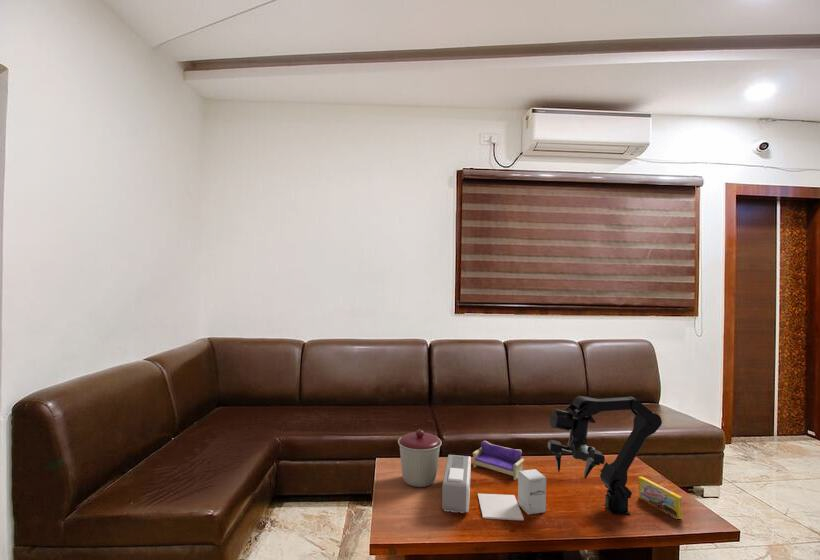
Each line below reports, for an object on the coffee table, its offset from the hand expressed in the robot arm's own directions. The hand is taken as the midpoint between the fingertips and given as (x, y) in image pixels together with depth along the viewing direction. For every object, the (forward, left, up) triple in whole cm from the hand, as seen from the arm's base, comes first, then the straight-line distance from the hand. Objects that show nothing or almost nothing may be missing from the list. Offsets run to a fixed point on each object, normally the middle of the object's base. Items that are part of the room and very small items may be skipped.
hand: (571, 474), depth 147 cm
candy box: (-33, -4, -13) cm, 36 cm away
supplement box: (+14, 0, -13) cm, 19 cm away
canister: (+56, -17, -13) cm, 60 cm away
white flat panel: (+26, 0, -13) cm, 29 cm away
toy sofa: (+22, -30, -13) cm, 39 cm away
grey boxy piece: (+41, -6, -13) cm, 43 cm away
